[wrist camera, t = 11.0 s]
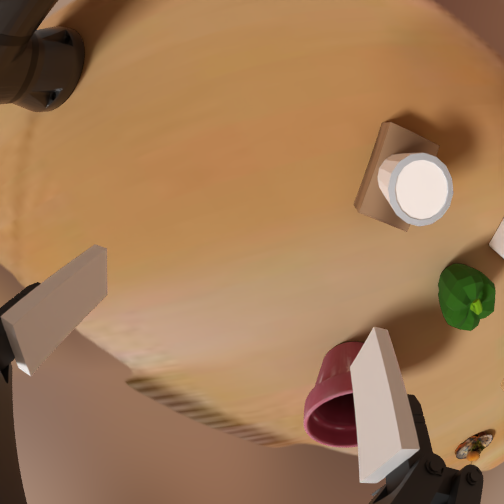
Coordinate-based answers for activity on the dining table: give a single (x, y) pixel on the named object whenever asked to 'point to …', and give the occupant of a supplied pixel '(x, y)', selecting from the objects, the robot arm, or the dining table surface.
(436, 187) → the white cup
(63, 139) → the dining table surface
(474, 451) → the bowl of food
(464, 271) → the bell pepper
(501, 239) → the medicine bottle
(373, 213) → the walnut base block
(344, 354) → the plant pot
